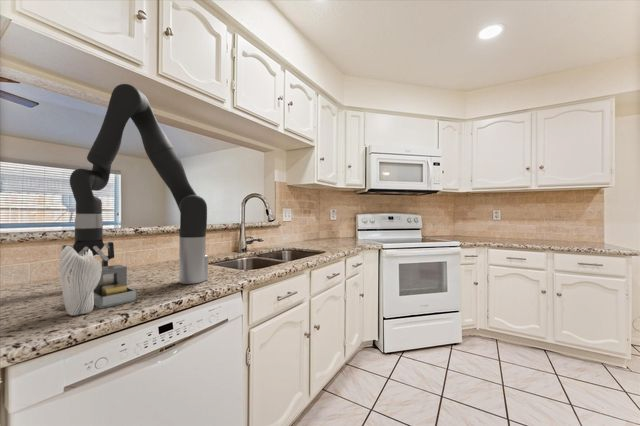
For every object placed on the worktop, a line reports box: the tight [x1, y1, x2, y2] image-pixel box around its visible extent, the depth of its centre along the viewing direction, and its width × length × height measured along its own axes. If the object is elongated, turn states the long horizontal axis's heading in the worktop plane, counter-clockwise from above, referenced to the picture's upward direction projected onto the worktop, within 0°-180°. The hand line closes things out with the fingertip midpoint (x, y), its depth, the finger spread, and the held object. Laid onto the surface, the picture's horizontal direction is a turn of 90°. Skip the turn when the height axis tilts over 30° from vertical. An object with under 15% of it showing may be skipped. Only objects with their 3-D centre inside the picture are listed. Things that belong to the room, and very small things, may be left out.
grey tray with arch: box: [93, 264, 138, 310], centre depth 84 cm, size 9×14×9 cm, turn 54°
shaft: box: [103, 273, 114, 285], centre depth 91 cm, size 3×21×8 cm, turn 54°
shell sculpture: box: [58, 246, 102, 317], centre depth 73 cm, size 8×8×18 cm
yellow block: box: [102, 284, 128, 297], centre depth 82 cm, size 5×4×4 cm
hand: (88, 273), depth 97 cm, fingers open, 8 cm apart
